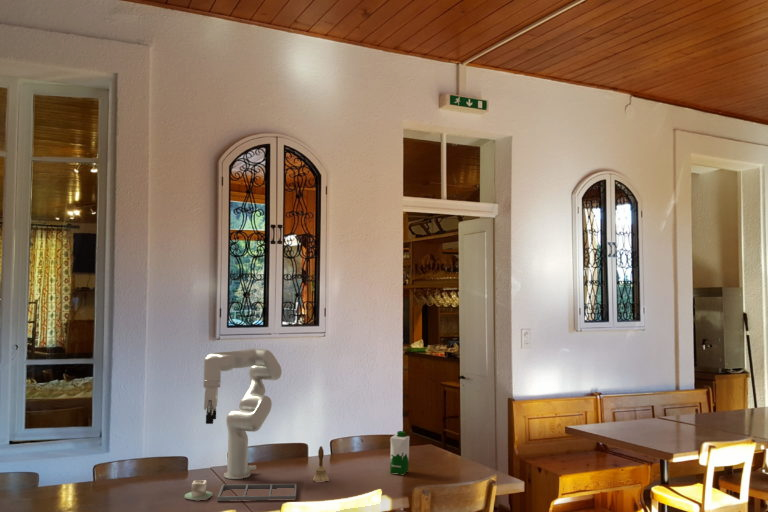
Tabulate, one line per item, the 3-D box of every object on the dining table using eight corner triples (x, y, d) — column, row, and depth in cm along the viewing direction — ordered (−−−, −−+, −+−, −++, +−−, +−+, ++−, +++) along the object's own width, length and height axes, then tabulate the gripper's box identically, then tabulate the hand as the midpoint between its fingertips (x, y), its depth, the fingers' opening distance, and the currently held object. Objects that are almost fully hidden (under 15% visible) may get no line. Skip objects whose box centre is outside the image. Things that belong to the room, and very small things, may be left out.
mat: (204, 490, 313) (205, 489, 313) (217, 497, 304) (217, 495, 304) (179, 495, 305) (179, 494, 305) (192, 503, 296) (192, 501, 296)
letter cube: (206, 492, 308) (206, 480, 308) (204, 496, 302) (204, 483, 302) (193, 493, 307) (193, 480, 307) (191, 496, 302) (191, 483, 302)
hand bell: (316, 483, 328) (316, 449, 328) (309, 478, 335) (310, 445, 335) (332, 481, 331) (333, 447, 332) (325, 476, 339) (326, 443, 339)
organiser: (296, 489, 318) (296, 483, 318) (295, 501, 301) (295, 495, 301) (222, 490, 314) (222, 484, 314) (217, 503, 297) (217, 497, 297)
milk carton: (410, 471, 350) (411, 431, 351) (404, 476, 342) (405, 435, 342) (394, 469, 354) (395, 430, 354) (387, 474, 345) (388, 433, 346)
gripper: (206, 380, 326) (205, 417, 325) (200, 386, 309) (199, 425, 308) (222, 380, 327) (221, 417, 326) (218, 386, 310) (216, 425, 309)
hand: (210, 421), depth 317 cm, fingers open, 9 cm apart
